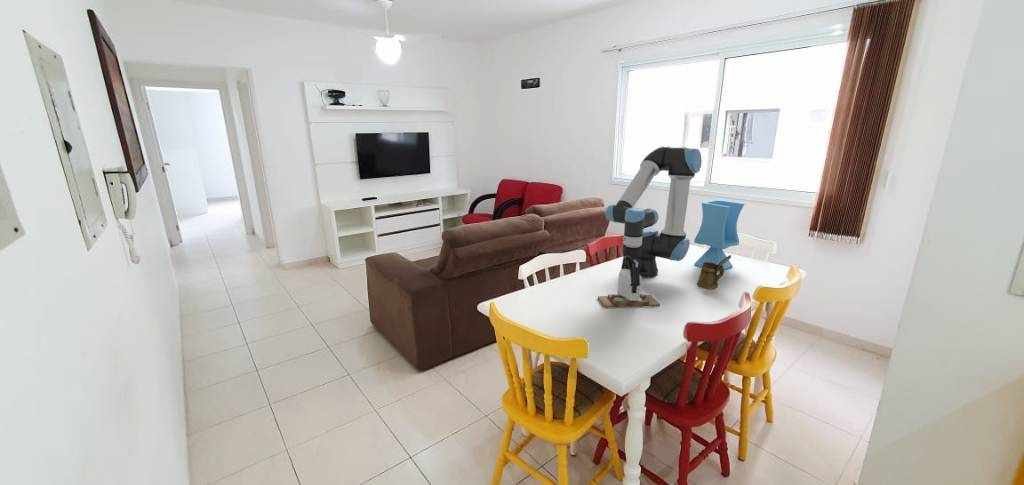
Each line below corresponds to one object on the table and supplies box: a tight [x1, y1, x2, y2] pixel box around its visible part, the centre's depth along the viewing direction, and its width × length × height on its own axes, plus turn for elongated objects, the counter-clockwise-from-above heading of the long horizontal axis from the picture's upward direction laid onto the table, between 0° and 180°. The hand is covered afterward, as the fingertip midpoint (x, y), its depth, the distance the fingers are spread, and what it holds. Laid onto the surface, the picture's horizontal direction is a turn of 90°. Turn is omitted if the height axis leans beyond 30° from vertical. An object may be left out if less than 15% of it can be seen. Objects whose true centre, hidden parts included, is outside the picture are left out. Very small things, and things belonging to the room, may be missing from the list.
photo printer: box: [616, 268, 643, 301], centre depth 173 cm, size 10×4×12 cm, turn 35°
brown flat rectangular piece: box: [597, 293, 661, 308], centre depth 175 cm, size 24×10×3 cm, turn 93°
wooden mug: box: [696, 254, 732, 291], centre depth 188 cm, size 9×14×18 cm, turn 35°
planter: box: [693, 199, 745, 273], centre depth 214 cm, size 16×16×35 cm
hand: (628, 294), depth 175 cm, fingers closed on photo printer, 10 cm apart
